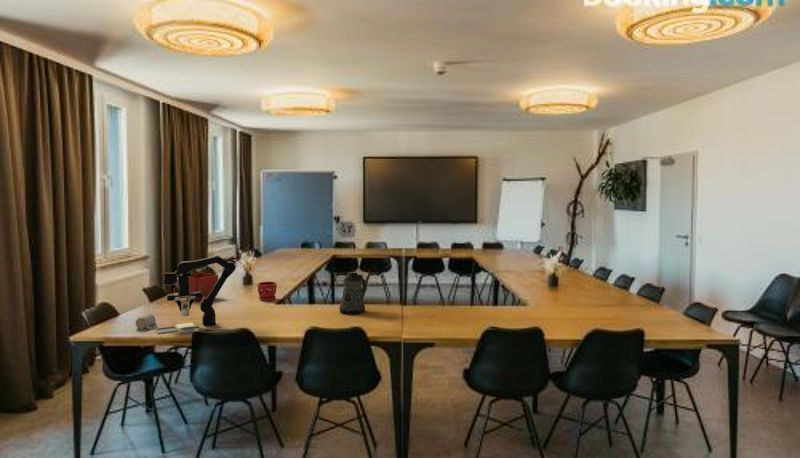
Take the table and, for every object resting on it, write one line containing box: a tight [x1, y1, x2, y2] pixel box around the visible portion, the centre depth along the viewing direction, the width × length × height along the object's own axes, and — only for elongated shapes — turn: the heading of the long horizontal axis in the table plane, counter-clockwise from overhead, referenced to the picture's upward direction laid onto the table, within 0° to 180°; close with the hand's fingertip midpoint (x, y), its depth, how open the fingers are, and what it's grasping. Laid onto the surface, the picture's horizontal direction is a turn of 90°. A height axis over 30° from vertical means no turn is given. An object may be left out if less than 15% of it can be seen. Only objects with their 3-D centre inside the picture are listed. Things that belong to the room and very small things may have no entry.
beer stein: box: [338, 272, 368, 316], centre depth 345 cm, size 16×19×25 cm
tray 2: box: [179, 325, 202, 335], centre depth 297 cm, size 10×10×1 cm
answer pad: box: [175, 322, 195, 329], centre depth 307 cm, size 9×9×1 cm
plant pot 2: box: [256, 281, 277, 302], centre depth 381 cm, size 13×13×12 cm
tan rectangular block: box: [180, 300, 190, 317], centre depth 307 cm, size 4×4×8 cm
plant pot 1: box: [186, 272, 220, 302], centre depth 384 cm, size 19×19×17 cm
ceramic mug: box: [135, 313, 158, 330], centre depth 302 cm, size 11×8×8 cm
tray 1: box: [154, 325, 179, 335], centre depth 296 cm, size 10×10×1 cm
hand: (184, 311), depth 307 cm, fingers closed on tan rectangular block, 4 cm apart
